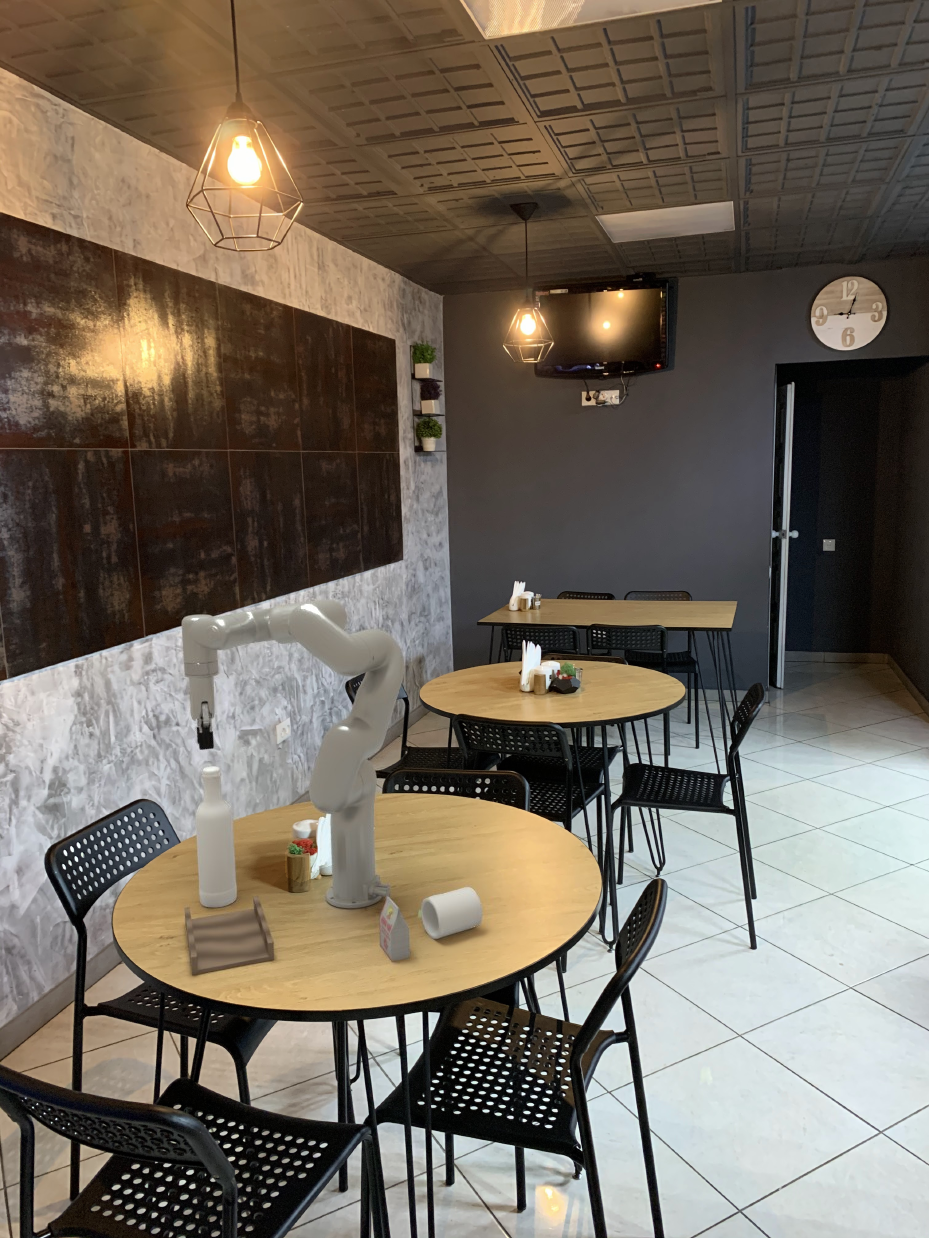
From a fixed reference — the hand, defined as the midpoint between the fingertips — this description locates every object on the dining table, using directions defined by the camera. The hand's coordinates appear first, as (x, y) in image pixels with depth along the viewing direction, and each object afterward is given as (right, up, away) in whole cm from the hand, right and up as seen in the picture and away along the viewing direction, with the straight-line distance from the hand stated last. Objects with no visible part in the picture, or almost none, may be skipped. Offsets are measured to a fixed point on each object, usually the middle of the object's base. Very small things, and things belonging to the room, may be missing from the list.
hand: (205, 745), depth 204 cm
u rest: (+13, -35, -29) cm, 47 cm away
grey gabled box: (+47, -35, -34) cm, 68 cm away
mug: (+57, -34, -24) cm, 70 cm away
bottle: (+6, -33, -10) cm, 35 cm away
